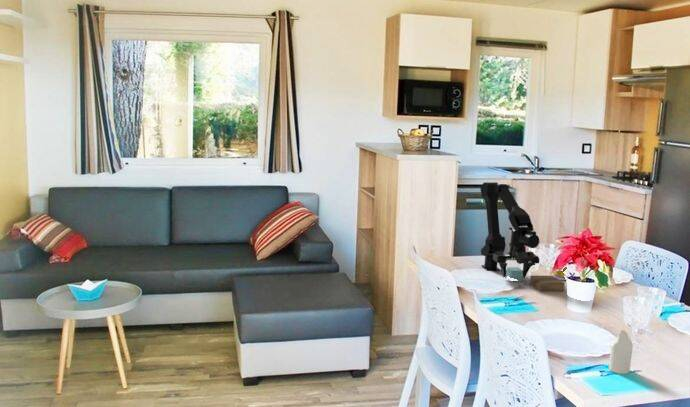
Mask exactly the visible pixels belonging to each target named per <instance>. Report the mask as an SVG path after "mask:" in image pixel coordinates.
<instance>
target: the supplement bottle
mask: <svg viewBox="0 0 690 407" xmlns="http://www.w3.org/2000/svg"><path fill="white" fill-rule="evenodd" d="M566 269H567V267H565V268H564V269H563V271H555V272H554V271H553V275H552V276H554V277H556V278H557V279H559V280H561V281H566V280H565V277H564V273H563V272H564V271H565V270H566Z"/></svg>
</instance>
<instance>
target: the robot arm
mask: <svg viewBox="0 0 690 407" xmlns="http://www.w3.org/2000/svg"><path fill="white" fill-rule="evenodd" d="M480 194H481V198H483V200H484V202H485V207H486V219H487V231H488V232H487V233H488V234H487V236H486V238H485V240H484V242H485V243H484V244H485V245H484V246H483V247H481V249H480V255H482V256H484V262H483V263H484V264H482V265H481V267H482V269H484V270H485V269H488V270H487V271H500V270H501V273H502V277H503V278H504V277H505V278H506V274H507V266H508V263H507V261H515V262H516V263H517V264H518V265H522V270H523V276H522V279H525V278H526V276H527V274H528V273H529V270H530V269H531V267H533V266H536V264H540V257H539V256H538V255H536V254H535V253H534V252H533V251H527V249H526V248H527V247H528V248H530V249H535V248H537V247H538V246H539V244H540V242H541V241H540V237H539V236H538V235H537V231H534V225H533V224H532V221H531V220H532V219H531V217H530V215H529V213H528V212H527V211H526V210H525V209H524V208H522V207H521V206H520V205H519V204H518V203H517V201H516V199H515V197H514V196H513V194H512V193H511V190H510V189H509V185H508V184H506V183H501V184H500V183H498V182H497V181H496V182H488V181H487V182H483V183H482V184H481V185H480ZM499 199H500V200H501V202H502V204H503V206H504V207H505V209H506V211H507V212H508V220H509V222H510V224H511V226H510V227H509V228H508V230H510V231H511V236H510V238H511V239H510V242H509V251H508V253H507V254H508V255H506V254H504V253H505V251H506V238H505V236H502V234H501V232H500V231H501V230H500V220H499V219H500V218H499V208H498V201H499ZM498 265H499V267H500V268H499V267H498Z"/></svg>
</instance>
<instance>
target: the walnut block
mask: <svg viewBox="0 0 690 407" xmlns="http://www.w3.org/2000/svg"><path fill="white" fill-rule="evenodd" d="M565 284H566V283H565V282H564V281H563V280H559V279H557V278H556V277H554V276H553V275H530V277H529V285H530V286H532V287H533V288H535V289H537V290H538V291H539V292H543V293H544V292H545V293H547V292H551V293H552V292H556V293H558V292H565Z"/></svg>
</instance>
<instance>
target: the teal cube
mask: <svg viewBox="0 0 690 407" xmlns="http://www.w3.org/2000/svg"><path fill="white" fill-rule="evenodd" d="M506 275H507V276H509V277H510V278H514V279H517V280H518V281H519V282H518V283H523V269H521V268H519V266H518V267H512V266H511V267H510V266H508V267H507V266H506Z"/></svg>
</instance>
